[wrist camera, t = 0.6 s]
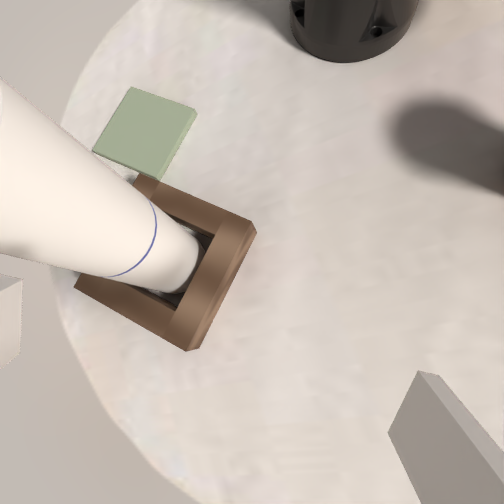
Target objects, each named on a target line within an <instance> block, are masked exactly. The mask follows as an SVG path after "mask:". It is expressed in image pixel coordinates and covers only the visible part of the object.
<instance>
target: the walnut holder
mask: <svg viewBox="0 0 504 504" xmlns="http://www.w3.org/2000/svg"><path fill="white" fill-rule="evenodd" d="M132 186H133V187H134V188H136V189H137V190H138V191H139V192H140V193H142V194H143V195H144V196H145V197H146V198H148V199H149V200H150V201H151V202H152V203H153V204H155V205H156V206H157V207H158V208H160V209H161V210H162V211H163V212H164V213H166V214H167V215H168V216H169V217H170V218H172V219H173V220H174V221H175V222H177V223H179V224H181V225H184V226H186V227H188V228H190V229H192V230H194V231H197V232H199V233H201V234H203V235H205V236H207V237H210V238H212V239H213V240H212V242H211V244H210V246H209V248H208V250H207V252H206V254H205V256H204V258H203V260H202V261H201V263H200V265H199V267H198V269H197V271H196V273H195V275H194V277H193V279H192V281H191V283H190V285H189V286H188V288H187V290H186V292H185V294H184V296H183V298H182V300H181V302H180V304H179V306H178V307H177V306H175V305H174V304H172V303H170V302H168V301H166V300H164V299H162V298H160V297H159V296H157V295H155V294H153V293H151V292H149V291H147V290H146V289H144V288H142V287H140V286H136V285H132V284H127V283H123V282H119V281H115V280H111V279H107V278H103V277H99V276H94V275H90V274H86V273H81V275H80V277H79V278H78V280H77V282H76V284H75V285H74V288H76V289H78V290H79V291H81V292H83V293H84V294H86V295H88V296H90V297H91V298H93V299H95V300H97V301H98V302H100V303H102V304H104V305H105V306H107V307H109V308H111V309H112V310H114V311H116V312H118V313H119V314H121V315H123V316H125V317H126V318H128V319H130V320H132V321H133V322H135V323H137V324H139V325H140V326H142V327H144V328H146V329H147V330H149V331H151V332H153V333H154V334H156V335H158V336H160V337H161V338H163V339H165V340H166V341H168V342H170V343H172V344H173V345H175V346H177V347H179V348H180V349H182V350H184V351H190V350H194V349H198V348H199V347H200V345H201V343H202V341H203V339H204V337H205V335H206V333H207V331H208V329H209V327H210V325H211V323H212V321H213V319H214V317H215V315H216V313H217V311H218V309H219V307H220V305H221V303H222V301H223V299H224V297H225V295H226V293H227V292H228V290H229V288H230V286H231V284H232V282H233V280H234V278H235V276H236V274H237V272H238V270H239V268H240V266H241V264H242V262H243V260H244V258H245V256H246V254H247V252H248V250H249V248H250V246H251V244H252V242H253V240H254V238H255V236H256V234H257V232H256V230H255V227H254V225H253V223H252V221H250V220H247V219H245V218H243V217H241V216H238V215H236V214H234V213H231V212H229V211H227V210H224V209H222V208H220V207H217V206H215V205H213V204H210V203H208V202H206V201H204V200H201V199H199V198H197V197H194V196H192V195H190V194H187V193H185V192H183V191H180V190H178V189H176V188H173V187H171V186H169V185H166V184H164V183H162V182H160V181H157V180H155V179H153V178H150V177H148V176H146V175H143V174H141V173H139V175H138V176H137V178H136V180H135V182H134V183H133V185H132Z"/></svg>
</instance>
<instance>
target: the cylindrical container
mask: <svg viewBox="0 0 504 504" xmlns="http://www.w3.org/2000/svg"><path fill="white" fill-rule="evenodd" d="M0 253H2V254H6V255H10V256H15V257H18V258H22V259H27V260H31V261H36V262H39V263H44V264H48V265H52V266H56V267H60V268H65V269H69V270H73V271H77V272H82V273H86V274H90V275H94V276H99V277H103V278H107V279H111V280H115V281H119V282H123V283H127V284H132V285H136V286H140V287H144V288H148V289H153V290H157V291H161V292H165V293H170V294H177V293H182V292H185V291H186V290H187V288H188V286H189V285H190V283H191V281H192V279H193V277H194V275H195V273H196V271H197V269H198V267H199V265H200V263H201V261H202V260H203V258H204V256H205V251H204V249H203V247H202V245H201V243H200V242H199V241H198V240H197V239H196V238H195V237H193V236H192V235H191V234H190V233H189V232H187V231H186V230H185V229H184V228H183V227H181V226H180V225H179V224H178V223H176V222H175V221H174V220H173V219H172V218H170V217H169V216H168V215H167V214H166V213H164V212H163V211H162V210H161V209H160V208H158V207H157V206H156V205H155V204H153V203H152V202H151V201H150V200H149V199H148V198H146V197H145V196H144V195H143V194H142V193H140V192H139V191H138V190H137V189H136V188H134V187H133V186H132V185H131V184H130V183H128V182H127V181H126V180H125V179H124V178H122V177H121V176H120V175H119V174H117V173H116V172H115V171H114V170H113V169H111V168H110V167H109V166H108V165H107V164H105V163H104V162H103V161H102V160H101V159H99V158H98V157H97V156H96V155H95V154H93V153H92V152H91V151H90V150H88V149H87V148H86V147H85V146H84V145H82V144H81V143H80V142H79V141H78V140H76V139H75V138H74V137H73V136H72V135H70V134H69V133H68V132H67V131H66V130H64V129H63V128H62V127H61V126H59V125H58V124H57V123H56V122H55V121H53V120H52V119H51V118H50V117H49V116H47V115H46V114H45V113H44V112H42V111H41V110H40V109H39V108H38V107H37V106H35V105H34V104H33V103H32V102H31V101H29V100H28V99H27V98H26V97H24V96H23V95H22V94H21V93H19V92H18V91H17V90H16V89H15V88H14V87H12V86H11V85H10V84H9V83H8V82H6V81H5V80H4V79H3V78H2V77H0Z"/></svg>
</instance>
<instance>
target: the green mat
mask: <svg viewBox="0 0 504 504" xmlns="http://www.w3.org/2000/svg"><path fill="white" fill-rule="evenodd" d="M196 116H197V112H196V110H195V109H193V108H190V107H188V106H185V105H182V104H179V103H176V102H173V101H171V100H168V99H165V98H162V97H159V96H157V95H154V94H151V93H148V92H145V91H142V90H140V89H137V88H134V87H131V88H130V89H129V91H128V92H127V94H126V96H125V97H124V99H123V101H122V102H121V104H120V106H119V107H118V109H117V111H116V112H115V114H114V115H113V117H112V119H111V120H110V122H109V124H108V125H107V127H106V129H105V130H104V132H103V133H102V135H101V137H100V138H99V140H98V142H97V143H96V145H95V147H94V148H93V151H94V152H95V153H96V154H98V155H100V156H102V157H105V158H107V159H109V160H112V161H114V162H116V163H119V164H121V165H123V166H126V167H128V168H130V169H133V170H135V171H137V172H139V173H142V174H144V175H146V176H149V177H151V178H153V179H156V180H158V181H160V180H161V178H162V176H163V174H164V173H165V171H166V169H167V167H168V166H169V164H170V162H171V160H172V159H173V157H174V155H175V153H176V151H177V150H178V148H179V146H180V144H181V143H182V141H183V139H184V137H185V136H186V134H187V132H188V130H189V128H190V127H191V125H192V123H193V121H194V120H195V118H196Z"/></svg>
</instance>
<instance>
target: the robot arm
mask: <svg viewBox="0 0 504 504" xmlns="http://www.w3.org/2000/svg"><path fill="white" fill-rule="evenodd" d="M417 4H418V0H290V24H291V29H292V32H293V34H294V37H295V38H296V40H297V41H298V43H299V44H300V45H301V46H302V47H303V48H304V49H305V50H307V51H308V52H310V53H311V54H313V55H315V56H317V57H319V58H322V59H325V60H329V61H334V62H356V61H362V60H366V59H369V58H372V57H375V56H377V55H379V54H382V53H383V52H385V51H387V50H388V49H390V48H391V47H393V46H394V45H395V44H396V43H397V42H398V41H399V40H400V39H401V38H402V37H403V36H404V34H405V33H406V31H407V30H408V28H409V26H410V24H411V21H412V18H413V16H414V13H415V10H416V7H417ZM22 293H23V279H19V278H15V277H11V276H6V275H2V274H0V369H2V368H3V367H4V366H5V365H6V364H8V363H9V362H10V361H11V360H12V359H14V358H15V357H16V356H17V355H18V354H19V353H20V342H21V319H22ZM388 435H389V437H390V439H391V441H392V443H393V445H394V447H395V449H396V451H397V453H398V456H399V458H400V460H401V462H402V464H403V466H404V468H405V470H406V472H407V474H408V477H409V479H410V481H411V483H412V485H413V487H414V489H415V491H416V493H417V495H418V498H419V500H420V502H421V504H504V452H503V451H502V450H501V449H500V447H499V446H498V445H497V444H496V443H495V441H494V440H493V439H492V438H491V437H490V435H489V434H488V433H487V432H486V431H485V430H484V428H483V427H482V426H481V425H480V424H479V422H478V421H477V420H476V419H475V418H474V416H473V415H472V414H471V413H470V412H469V410H468V409H467V408H466V407H465V406H464V404H463V403H462V402H461V401H460V400H459V398H458V397H457V396H456V395H455V394H454V393H453V391H452V390H451V389H450V388H449V387H448V385H447V384H446V383H445V382H444V381H443V379H442V378H441V377H440V376H439V375H435V374H431V373H426V372H422V371H418V372H417V374H416V376H415V378H414V380H413V382H412V384H411V386H410V388H409V390H408V392H407V394H406V396H405V398H404V400H403V402H402V404H401V406H400V408H399V410H398V413H397V415H396V417H395V419H394V421H393V423H392V425H391V427H390V429H389V431H388Z"/></svg>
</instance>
